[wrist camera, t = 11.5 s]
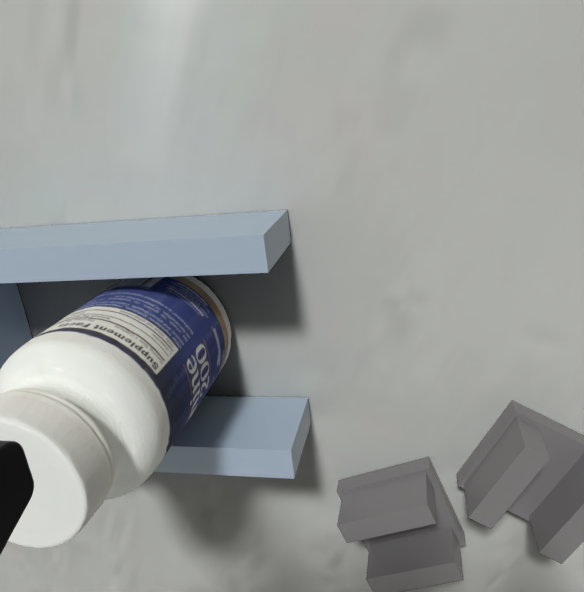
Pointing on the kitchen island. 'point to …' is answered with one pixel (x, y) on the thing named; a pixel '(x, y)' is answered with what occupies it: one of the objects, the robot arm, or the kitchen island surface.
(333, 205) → the kitchen island surface
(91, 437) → the pill bottle
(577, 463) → the clip
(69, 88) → the kitchen island surface
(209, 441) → the end holder
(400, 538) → the clip
